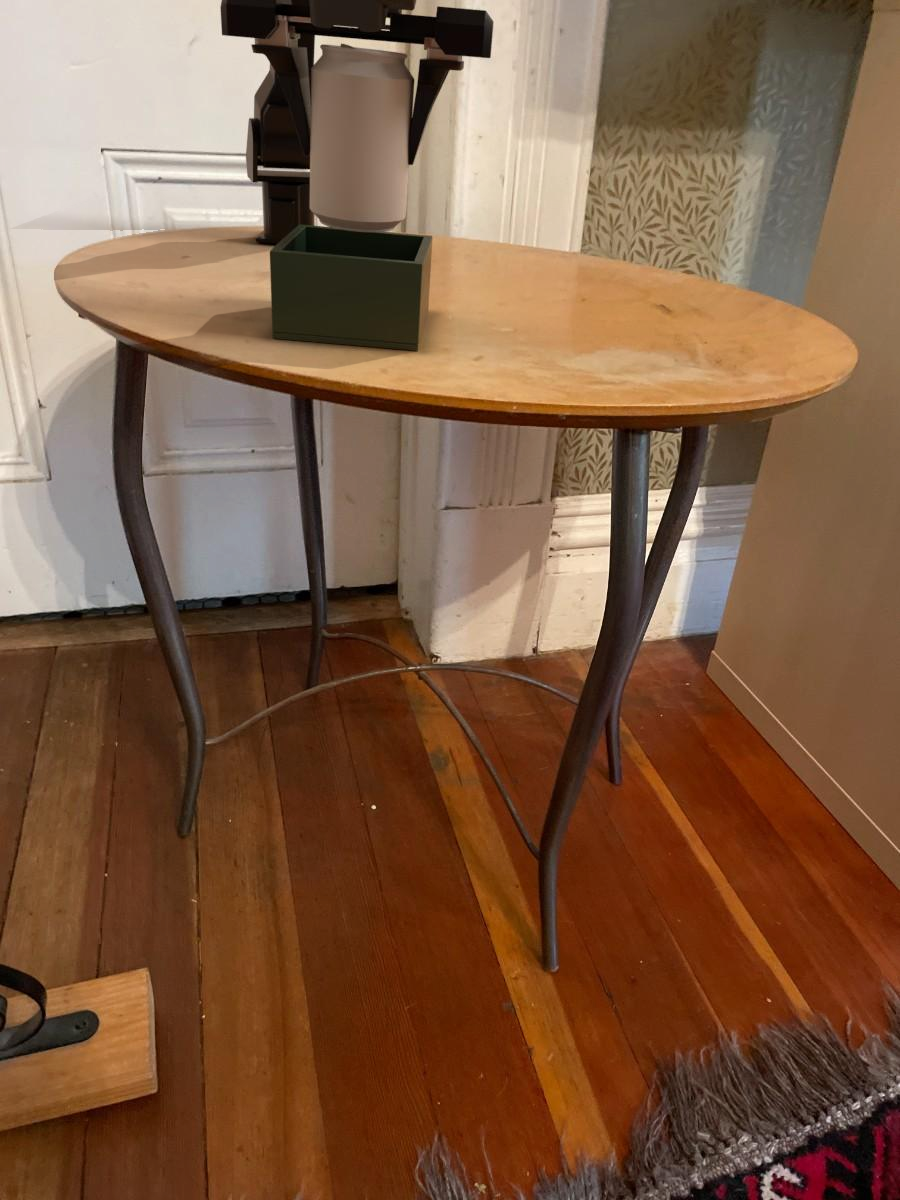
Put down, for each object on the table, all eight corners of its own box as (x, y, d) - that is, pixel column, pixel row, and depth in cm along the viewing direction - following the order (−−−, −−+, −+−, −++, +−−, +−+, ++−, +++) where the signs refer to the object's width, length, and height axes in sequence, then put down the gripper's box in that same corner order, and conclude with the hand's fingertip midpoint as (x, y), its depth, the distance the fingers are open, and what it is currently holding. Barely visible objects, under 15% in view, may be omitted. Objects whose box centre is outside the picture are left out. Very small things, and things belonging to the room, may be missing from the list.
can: (391, 239, 66) (402, 51, 60) (295, 225, 67) (296, 39, 61) (414, 223, 73) (426, 52, 66) (327, 211, 74) (330, 41, 67)
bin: (300, 302, 79) (299, 224, 75) (428, 313, 79) (432, 235, 75) (272, 338, 69) (269, 250, 66) (417, 351, 69) (422, 264, 66)
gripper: (188, -131, 52) (207, 161, 61) (502, -104, 52) (478, 185, 61) (235, -105, 62) (246, 145, 70) (502, -82, 62) (481, 165, 70)
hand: (359, 160), depth 68 cm, fingers closed on can, 7 cm apart
